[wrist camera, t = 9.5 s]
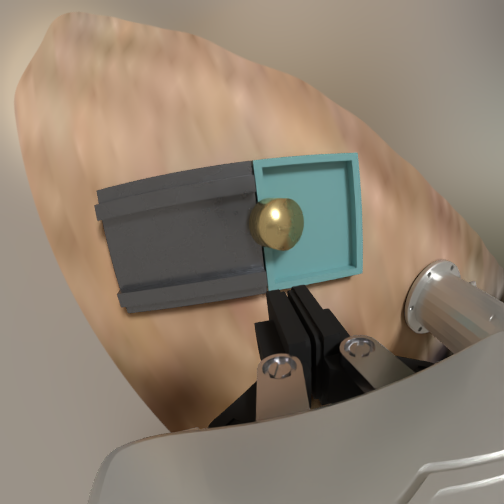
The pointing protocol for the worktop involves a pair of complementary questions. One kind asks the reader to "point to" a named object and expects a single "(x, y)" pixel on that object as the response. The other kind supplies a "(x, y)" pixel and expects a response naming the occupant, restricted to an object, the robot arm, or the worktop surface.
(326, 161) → the tray
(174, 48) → the worktop surface
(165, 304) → the slot plate
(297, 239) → the brass puck
